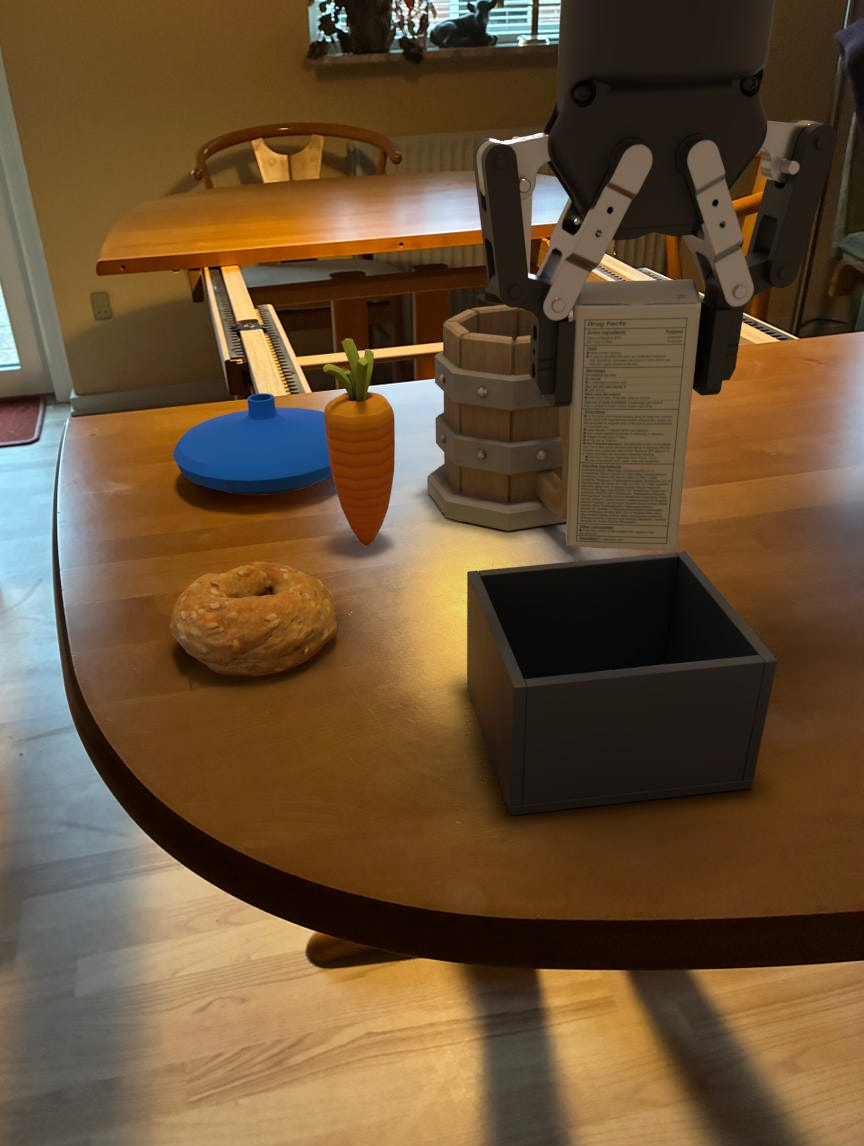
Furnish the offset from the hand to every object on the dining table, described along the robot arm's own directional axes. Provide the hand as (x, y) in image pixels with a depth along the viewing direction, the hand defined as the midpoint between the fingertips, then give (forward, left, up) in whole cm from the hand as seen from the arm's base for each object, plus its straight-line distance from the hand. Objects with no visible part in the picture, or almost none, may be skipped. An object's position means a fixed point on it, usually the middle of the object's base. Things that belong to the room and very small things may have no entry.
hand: (630, 394), depth 43 cm
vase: (+17, -40, -19) cm, 47 cm away
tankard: (-3, -28, -19) cm, 34 cm away
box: (0, 0, -7) cm, 7 cm away
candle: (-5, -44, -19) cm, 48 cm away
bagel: (+18, -13, -19) cm, 29 cm away
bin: (0, 0, -19) cm, 19 cm away
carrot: (+10, -25, -19) cm, 33 cm away
